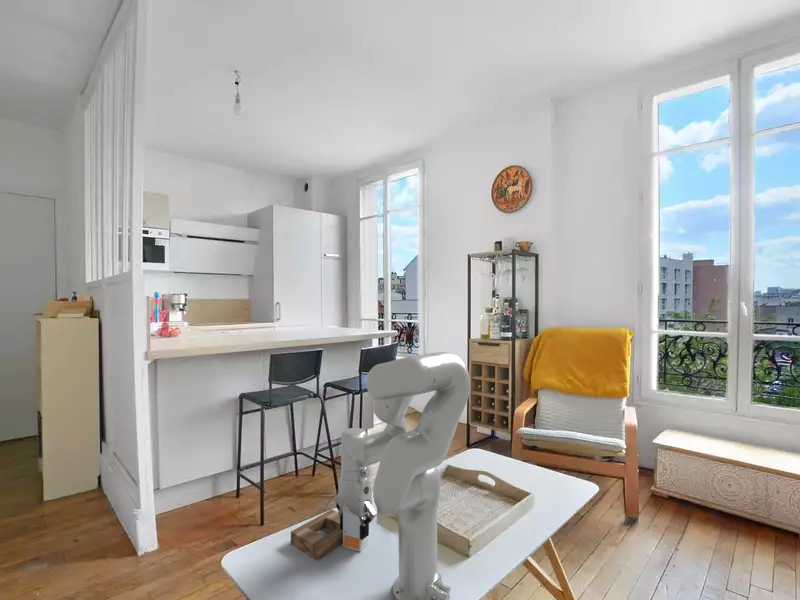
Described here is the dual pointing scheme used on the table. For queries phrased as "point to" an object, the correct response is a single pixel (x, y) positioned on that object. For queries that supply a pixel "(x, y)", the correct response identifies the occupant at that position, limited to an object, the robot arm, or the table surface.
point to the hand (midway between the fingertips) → (354, 531)
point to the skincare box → (352, 531)
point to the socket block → (319, 535)
